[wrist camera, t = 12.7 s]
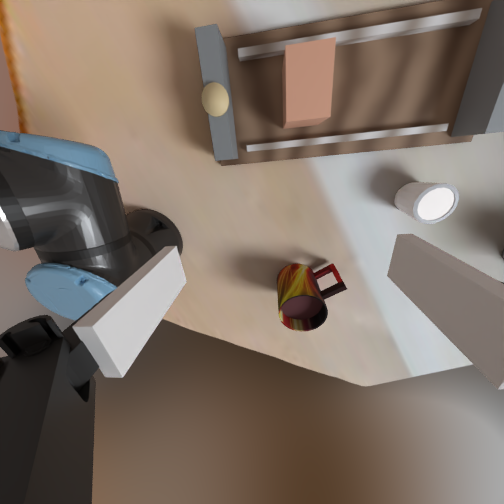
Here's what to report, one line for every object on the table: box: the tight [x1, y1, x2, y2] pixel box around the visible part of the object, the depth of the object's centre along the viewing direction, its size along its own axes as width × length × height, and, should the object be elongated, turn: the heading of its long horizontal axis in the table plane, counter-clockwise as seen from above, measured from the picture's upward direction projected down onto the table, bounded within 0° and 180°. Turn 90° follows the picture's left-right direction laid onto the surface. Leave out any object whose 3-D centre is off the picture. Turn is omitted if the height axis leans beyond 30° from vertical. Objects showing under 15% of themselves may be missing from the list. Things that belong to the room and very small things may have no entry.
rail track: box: [221, 0, 493, 166], centre depth 32 cm, size 44×18×2 cm, turn 95°
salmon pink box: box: [282, 37, 336, 129], centre depth 29 cm, size 6×8×8 cm
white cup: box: [394, 182, 459, 224], centre depth 36 cm, size 7×7×7 cm
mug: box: [277, 264, 347, 331], centre depth 44 cm, size 10×14×12 cm
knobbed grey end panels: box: [195, 0, 504, 161], centre depth 29 cm, size 44×16×7 cm, turn 95°
